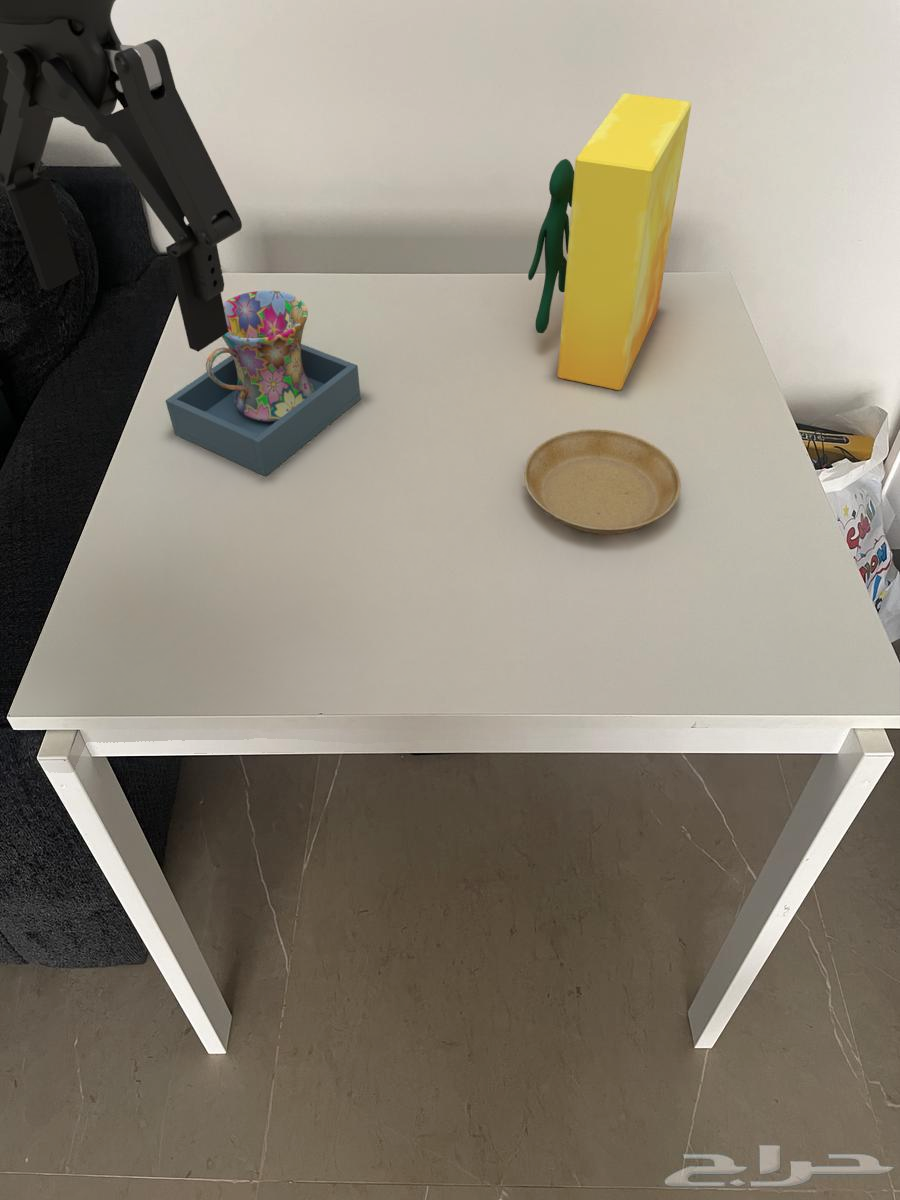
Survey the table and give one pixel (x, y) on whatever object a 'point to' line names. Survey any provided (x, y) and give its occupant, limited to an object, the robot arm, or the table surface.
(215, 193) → the robot arm
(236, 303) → the mug
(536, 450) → the plant saucer
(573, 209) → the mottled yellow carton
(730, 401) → the table surface
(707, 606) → the table surface
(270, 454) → the tub
